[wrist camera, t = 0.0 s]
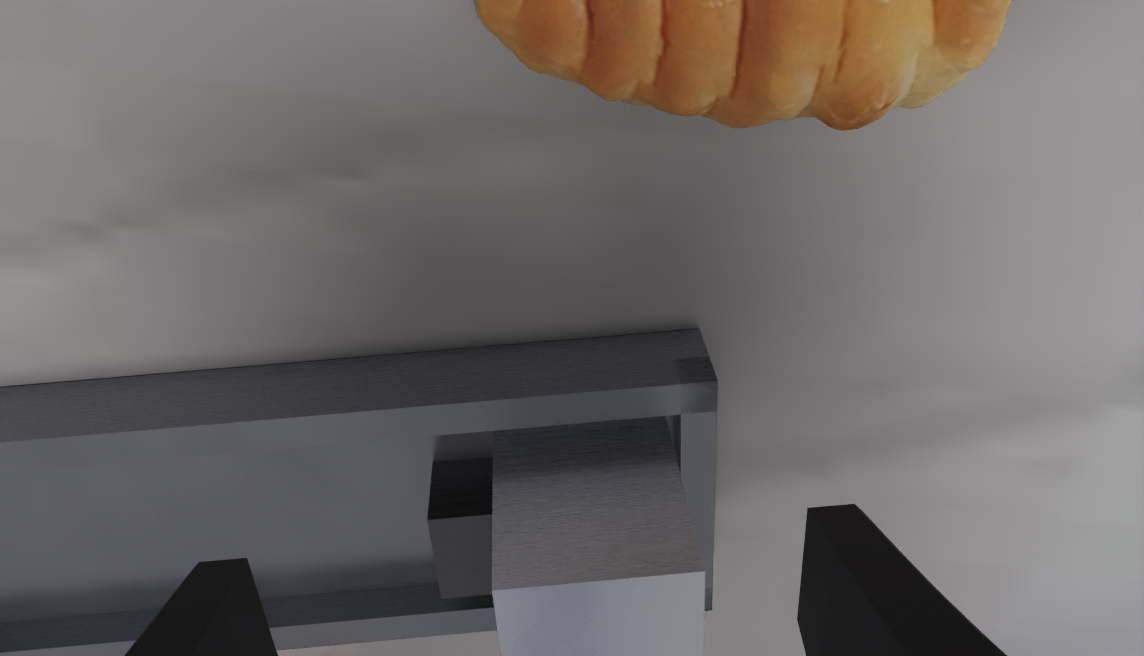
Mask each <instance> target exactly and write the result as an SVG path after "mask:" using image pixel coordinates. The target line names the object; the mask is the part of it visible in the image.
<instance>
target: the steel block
mask: <svg viewBox="0 0 1144 656" xmlns="http://www.w3.org/2000/svg"><path fill="white" fill-rule="evenodd" d="M427 522H428V528H429V533H430V539H431V544H432V550H433V556H434V561H435V567H436V572H437V578H438V583H439V589H440V595H441V599H445V598H456V597H467V596H478V595H489V594H492V595H493V602H494V609H495V617H496V624H497V631H498V638H499V645H500V652H501V656H704V607H705V569H704V565H703V561H702V557H701V553H700V549H699V545H698V541H697V537H696V533H695V529H694V525H693V522H692V518H691V514H690V510H689V506H688V502H687V498H686V494H685V490H684V486H683V482H682V478H681V475H680V471H679V467H678V463H677V459H676V455H675V451H674V447H673V443H672V439H671V435H670V431H669V428H668V424H667V420H666V416H657V417H646V418H634V419H622V420H611V421H599V422H588V423H576V424H565V425H553V426H542V427H530V428H518V429H507V430H495V431H493V457H484V458H472V459H461V460H450V461H438V462H432V473H431V484H430V495H429V505H428V516H427Z"/></svg>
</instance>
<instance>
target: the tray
mask: <svg viewBox="0 0 1144 656" xmlns="http://www.w3.org/2000/svg"><path fill="white" fill-rule="evenodd" d="M717 391H718V380H717V378H716V375H715V372H714V369H713V366H712V364H711V361H710V358H709V355H708V352H707V349H706V347H705V344H704V341H703V338H702V335H701V332H700V330H699V329H692V330H680V331H668V332H656V333H644V334H632V335H621V336H609V337H597V338H585V339H573V340H561V341H549V342H537V343H525V344H514V345H502V346H490V347H478V348H466V349H454V350H442V351H430V352H418V353H406V354H395V355H383V356H371V357H359V358H347V359H335V360H323V361H311V362H299V363H288V364H276V365H264V366H252V367H240V368H228V369H216V370H204V371H192V372H181V373H169V374H157V375H145V376H133V377H121V378H109V379H97V380H85V381H74V382H62V383H50V384H38V385H26V386H14V387H2V388H0V656H124V655H125V654H126V653H127V651H128V650H129V649H130V648H131V646H132V645H133V644H134V643H135V641H136V640H137V639H138V638H139V636H140V635H141V634H142V632H143V631H144V630H145V629H146V627H147V626H148V625H149V624H150V622H151V621H152V620H153V619H154V617H155V616H156V615H157V613H158V612H159V611H160V610H161V608H162V607H163V606H164V605H165V603H166V602H167V601H168V599H169V598H170V597H171V596H172V594H173V593H174V592H175V590H176V589H177V588H178V587H179V585H180V584H181V583H182V582H183V580H184V579H185V578H186V577H187V575H188V574H189V573H190V572H191V570H192V569H193V568H194V567H195V566H196V565H197V564H198V563H199V562H204V561H215V560H227V559H238V558H247V559H248V562H249V565H250V569H251V572H252V575H253V578H254V581H255V585H256V588H257V591H258V594H259V597H260V600H261V604H262V607H263V610H264V613H265V616H266V620H267V623H268V626H269V629H270V632H271V635H272V639H273V642H274V645H275V648H276V650H286V649H297V648H308V647H319V646H330V645H340V644H351V643H362V642H373V641H384V640H394V639H405V638H416V637H427V636H438V635H449V634H459V633H470V632H481V631H492V630H497V624H496V617H495V609H494V602H493V595H492V594H489V595H478V596H467V597H456V598H445V599H441V595H440V589H439V583H438V578H437V572H436V567H435V561H434V556H433V550H432V544H431V539H430V533H429V528H428V522H427V516H428V505H429V495H430V484H431V473H432V462H438V461H450V460H461V459H472V458H484V457H493V431H495V430H507V429H518V428H530V427H542V426H553V425H565V424H576V423H588V422H599V421H611V420H622V419H634V418H646V417H657V416H666V420H667V424H668V428H669V431H670V435H671V439H672V443H673V447H674V451H675V455H676V459H677V463H678V467H679V471H680V475H681V478H682V482H683V486H684V490H685V494H686V498H687V502H688V506H689V510H690V514H691V518H692V522H693V525H694V529H695V533H696V537H697V541H698V545H699V549H700V553H701V557H702V561H703V565H704V569H705V607H704V611H708V610H712V587H713V548H714V509H715V469H716V430H717Z"/></svg>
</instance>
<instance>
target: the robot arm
mask: <svg viewBox="0 0 1144 656" xmlns="http://www.w3.org/2000/svg"><path fill="white" fill-rule="evenodd" d="M797 620H798V624H799V628H800V632H801V636H802V640H803V644H804V648H805V652H806V656H1007V655H1006V654H1005V653H1003V652H1002V651H1001V650H1000V649H999V648H998V647H997V646H996V645H995V644H994V643H992V642H991V641H990V640H989V639H988V638H987V637H986V636H985V635H984V634H983V633H982V632H981V631H980V630H979V629H977V628H976V627H975V626H974V625H973V624H972V623H971V622H970V621H969V620H968V619H967V618H966V617H965V616H964V615H963V614H962V613H961V612H960V611H959V610H958V609H957V608H956V607H955V606H954V605H952V604H951V603H950V602H949V601H948V600H947V599H946V598H945V597H944V596H943V595H942V594H941V593H940V592H939V591H938V590H937V589H936V588H935V587H934V586H933V585H932V584H931V583H930V582H929V581H928V580H927V579H926V578H925V577H924V576H923V575H922V574H921V573H920V571H919V570H918V569H917V568H916V567H915V566H914V565H913V564H912V563H911V562H910V561H909V560H908V559H907V558H906V557H905V556H904V555H903V554H902V553H901V552H900V551H899V550H898V549H897V548H896V546H895V545H894V544H893V543H892V542H891V541H890V540H889V539H888V538H887V537H886V536H885V535H884V534H883V533H882V532H881V530H880V529H879V528H878V527H877V526H876V525H875V524H874V523H873V522H872V521H871V520H870V519H869V518H868V517H867V515H866V514H865V513H864V512H863V511H862V510H861V509H860V508H858V507H857V506H856V505H855V504H848V505H837V506H826V507H815V508H808V510H807V521H806V532H805V542H804V553H803V564H802V574H801V585H800V596H799V607H798V617H797ZM124 656H278V655H277V651H276V648H275V645H274V642H273V639H272V635H271V632H270V629H269V626H268V623H267V620H266V616H265V613H264V610H263V607H262V604H261V600H260V597H259V594H258V591H257V588H256V585H255V581H254V578H253V575H252V572H251V569H250V565H249V562H248V559H247V558H238V559H227V560H215V561H204V562H199V563H198V564H197V565H196V566H195V567H194V568H193V569H192V570H191V572H190V573H189V574H188V575H187V577H186V578H185V579H184V580H183V582H182V583H181V584H180V585H179V587H178V588H177V589H176V590H175V592H174V593H173V594H172V596H171V597H170V598H169V599H168V601H167V602H166V603H165V605H164V606H163V607H162V608H161V610H160V611H159V612H158V613H157V615H156V616H155V617H154V619H153V620H152V621H151V622H150V624H149V625H148V626H147V627H146V629H145V630H144V631H143V632H142V634H141V635H140V636H139V638H138V639H137V640H136V641H135V643H134V644H133V645H132V646H131V648H130V649H129V650H128V651H127V653H126V654H125V655H124Z"/></svg>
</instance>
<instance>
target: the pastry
mask: <svg viewBox="0 0 1144 656" xmlns="http://www.w3.org/2000/svg"><path fill="white" fill-rule="evenodd" d="M1011 2H1012V0H475V5H476V9H477V14H478V17H479V18H480V20H481V21H482V23H483V24H484V25H485V26H486V27H487V29H488V30H489V31H490V32H491V33H493V34H494V35H495V36H497V37H498V38H499V40H500V41H501V42H502V43H503V44H504V45H505V46H506V47H507V48H509V49H510V50H511V51H513V52H514V54H515V55H516V56H517V58H518V59H519V60H520V61H521V62H522V63H523V64H525V65H526V66H527V67H528V68H529V69H531V70H533V71H536V72H538V73H542V74H548V75H552V76H555V77H558V78H560V79H563V80H567V81H572V82H576V83H579V84H581V85H584V86H586V87H587V88H588V89H590V90H591V91H592V92H594V93H595V94H597V95H598V96H600V97H602V98H603V99H605V100H608V101H616V100H621V101H623V102H626V103H629V104H634V105H651V106H653V107H654V108H656V109H658V110H661V111H665V112H668V113H671V114H676V115H681V116H694V115H702V116H705V117H707V118H710V119H713V120H714V121H717V122H719V123H721V124H724V125H726V126H728V127H731V128H747V127H753V126H758V125H762V124H766V123H769V122H772V121H774V120H791V119H794V118H798V117H816V118H817V119H819V120H821V121H822V122H823V123H825V124H826V125H828V126H829V127H831V128H834V129H837V130H852V129H858V128H861V127H863V126H865V125H867V124H869V123H871V122H873V121H875V120H877V119H879V118H880V117H881V116H883V115H884V114H885V113H887V112H888V111H889V110H890V109H892V108H895V107H898V106H899V107H903V108H908V109H913V108H918V107H922V106H924V105H926V104H928V103H930V102H932V101H933V100H935V99H936V98H938V97H939V96H940V95H941V94H942V93H943V92H944V91H945V90H947V89H949V88H951V87H953V86H955V85H957V84H958V83H960V82H961V81H962V80H963V79H964V78H965V77H966V76H967V74H968V73H969V71H970V70H972V69H975V68H977V67H978V66H980V65H981V64H982V63H983V62H984V61H985V59H986V58H987V57H988V56H989V54H990V53H991V51H992V50H993V49H994V47H995V46H996V44H997V42H998V40H999V38H1000V36H1001V34H1002V29H1003V27H1004V23H1005V17H1006V15H1007V12H1008V10H1009V8H1010V5H1011Z"/></svg>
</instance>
